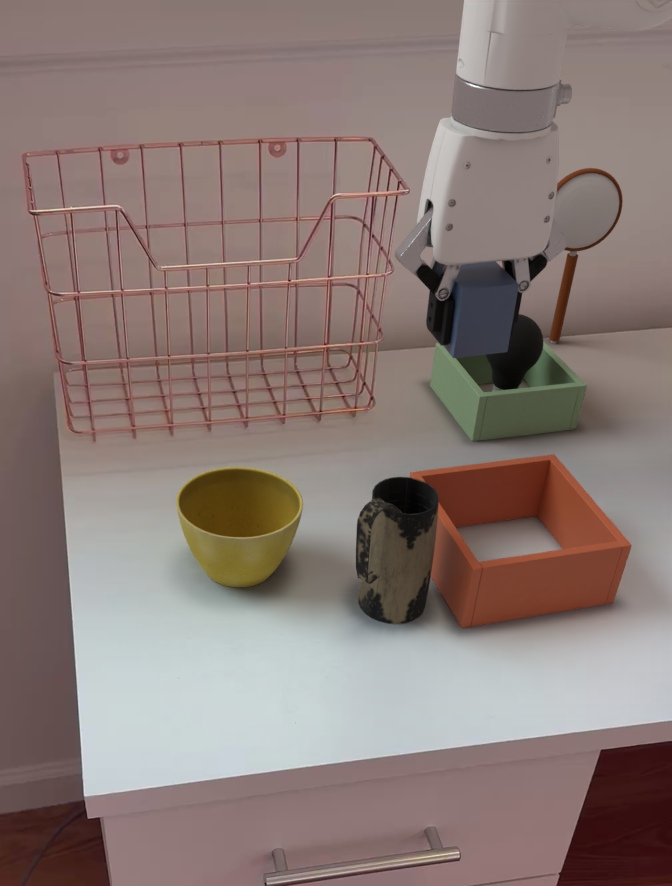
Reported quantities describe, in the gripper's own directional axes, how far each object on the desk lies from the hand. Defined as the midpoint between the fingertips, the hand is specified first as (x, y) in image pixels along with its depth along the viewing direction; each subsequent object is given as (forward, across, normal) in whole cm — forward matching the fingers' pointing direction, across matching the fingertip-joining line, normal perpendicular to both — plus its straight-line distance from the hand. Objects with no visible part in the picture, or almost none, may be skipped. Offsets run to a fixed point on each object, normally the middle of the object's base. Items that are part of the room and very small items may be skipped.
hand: (470, 332), depth 88 cm
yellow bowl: (+15, +23, +9) cm, 29 cm away
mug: (+15, +13, +17) cm, 26 cm away
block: (+1, 0, 0) cm, 1 cm away
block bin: (+15, +1, +14) cm, 21 cm away
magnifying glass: (+16, -23, -24) cm, 36 cm away
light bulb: (+15, -10, -11) cm, 21 cm away
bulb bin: (+15, -10, -11) cm, 21 cm away
